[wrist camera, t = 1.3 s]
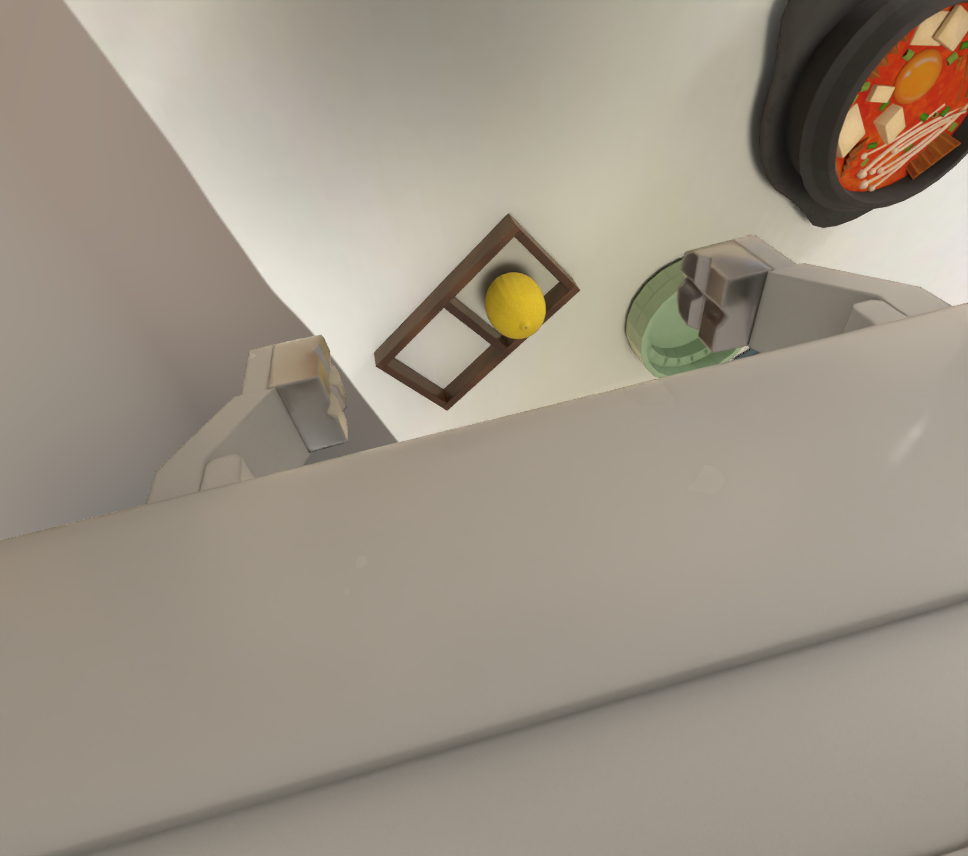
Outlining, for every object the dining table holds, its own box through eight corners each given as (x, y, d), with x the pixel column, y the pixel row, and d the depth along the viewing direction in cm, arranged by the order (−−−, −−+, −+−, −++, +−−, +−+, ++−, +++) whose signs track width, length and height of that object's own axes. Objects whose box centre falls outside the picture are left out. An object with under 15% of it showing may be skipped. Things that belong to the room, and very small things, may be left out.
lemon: (541, 267, 53) (567, 309, 48) (516, 314, 56) (538, 359, 51) (491, 250, 51) (512, 293, 45) (468, 301, 54) (485, 346, 48)
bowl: (706, 227, 54) (730, 247, 51) (755, 302, 62) (778, 323, 59) (602, 317, 59) (618, 340, 56) (660, 375, 67) (677, 399, 64)
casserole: (951, 146, 54) (1029, 175, 48) (772, 255, 58) (823, 294, 52) (970, -176, 37) (1093, -193, 31) (717, 11, 42) (783, 28, 36)
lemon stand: (508, 213, 49) (515, 223, 47) (572, 278, 55) (580, 290, 53) (373, 352, 56) (375, 366, 54) (443, 397, 62) (447, 410, 60)
